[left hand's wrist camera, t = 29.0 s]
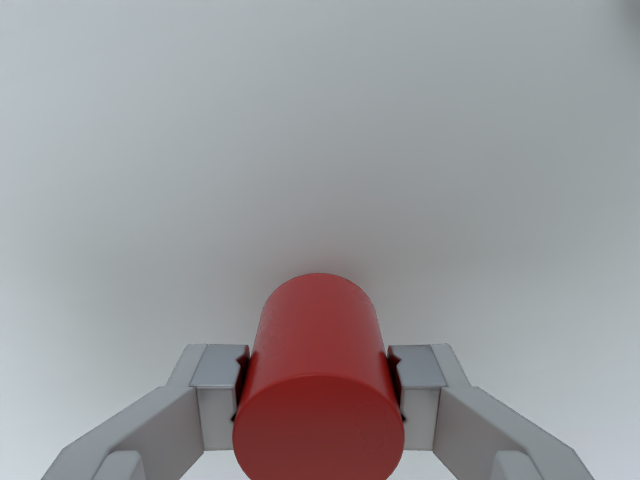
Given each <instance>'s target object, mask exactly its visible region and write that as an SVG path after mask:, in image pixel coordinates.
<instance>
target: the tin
mask: <svg viewBox="0 0 640 480" xmlns="http://www.w3.org/2000/svg"><path fill="white" fill-rule="evenodd" d="M404 443H405V430H404V426H403V421H402V417H401V413H400V409H399V405H398V401H397V397H396V393H395V389H394V385H393V381H392V377H391V373H390V369H389V365H388V360H387V356H386V352H385V348H384V344H383V340H382V336H381V332H380V328H379V324H378V320H377V316H376V312H375V309H374V306H373V304H372V302H371V301H370V299H369V297H368V296H367V295H366V294H365V292H363V291H362V290H361V289H360V288H359V287H358V286H357V285H355V284H354V283H352V282H350V281H349V280H347V279H344V278H342V277H339V276H335V275H331V274H324V273H315V274H307V275H302V276H299V277H296V278H293V279H291V280H289V281H287V282H285V283H284V284H282V285H281V286H280V287H278V288H277V289H276V290H275V291H274V292H273V293H272V294H271V296H270V297H269V298H268V300H267V302H266V303H265V306H264V308H263V311H262V314H261V318H260V322H259V326H258V330H257V334H256V338H255V342H254V346H253V350H252V354H251V358H250V362H249V366H248V370H247V374H246V378H245V381H244V385H243V389H242V393H241V397H240V401H239V405H238V409H237V413H236V417H235V421H234V425H233V431H232V445H233V449H234V453H235V456H236V459H237V461H238V463H239V465H240V467H241V468H242V470H243V471H244V472H245V474H246V475H247V476H248V477H249V478H250V479H251V480H386V479H387V478H388V477H389V476H390V475H391V474H392V472H393V471H394V470H395V468H396V467H397V465H398V463H399V461H400V459H401V456H402V453H403V449H404Z"/></svg>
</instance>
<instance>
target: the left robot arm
mask: <svg viewBox="0 0 640 480" xmlns="http://www.w3.org/2000/svg"><path fill="white" fill-rule="evenodd" d="M387 360H388V365H389V369H390V373H391V377H392V381H393V385H394V389H395V393H396V397H397V401H398V405H399V409H400V413H401V417H402V421H403V426H404V430H405V443H404V449H403V450H425V451H433V453H434V454H435V455H436V456H437V457H438V459H439V460H440V461H441V462H442V463H443V464H444V465H445V466H446V467H447V468H448V469H449V471H450V472H451V473H452V474H453V475H454V476H455V477H456V478H457V479H458V480H594V478H593V477H592V475H591V474H590V472H589V471H588V469H587V468H586V467H585V465H584V464H583V462H582V461H581V459H580V458H579V456H578V455H577V454H576V452H575V451H574V449H572V448H571V447H569V446H568V445H566V444H565V443H563V442H561V441H560V440H558V439H557V438H555V437H554V436H552V435H551V434H549V433H548V432H546V431H545V430H543V429H542V428H540V427H538V426H537V425H535V424H534V423H532V422H531V421H529V420H528V419H526V418H525V417H523V416H522V415H520V414H519V413H517V412H516V411H514V410H512V409H511V408H509V407H508V406H506V405H505V404H503V403H502V402H500V401H499V400H497V399H496V398H494V397H493V396H491V395H489V394H488V393H486V392H485V391H483V390H482V389H480V388H479V387H472V386H471V384H470V382H469V381H468V379H467V377H466V375H465V373H464V371H463V369H462V367H461V365H460V363H459V361H458V359H457V357H456V355H455V353H454V351H453V349H452V347H451V346H450V345H449V344H428V345H389V347H388V353H387ZM249 362H250V352H249V347H248V345H225V344H209V345H208V344H189V345H187V346H186V347H185V349H184V351H183V353H182V355H181V357H180V359H179V360H178V362H177V364H176V366H175V368H174V370H173V372H172V374H171V376H170V378H169V380H168V382H167V384H166V385H165V387H158V388H156V389H155V390H153V391H152V392H150V393H148V394H147V395H145V396H144V397H142V398H141V399H139V400H138V401H136V402H135V403H133V404H131V405H130V406H128V407H127V408H125V409H124V410H122V411H121V412H119V413H117V414H116V415H114V416H113V417H111V418H110V419H108V420H107V421H105V422H104V423H102V424H100V425H99V426H97V427H96V428H94V429H93V430H91V431H90V432H88V433H86V434H85V435H83V436H82V437H80V438H79V439H77V440H76V441H74V442H73V443H71V444H69V445H68V446H66V447H65V448H63V449H62V451H61V452H60V453H59V455H58V456H57V458H56V459H55V460H54V462H53V463H52V465H51V466H50V468H49V469H48V470H47V472H46V473H45V475H44V476H43V477H42V479H41V480H179V479H180V478H181V477H182V476H183V475H184V474H185V473H186V472H187V470H188V469H189V468H190V467H191V466H192V465H193V464H194V463H195V462H196V461H197V460H198V459H199V457H200V456H201V455H202V454H203V453H204V451H211V450H234V449H233V445H232V431H233V425H234V421H235V417H236V413H237V409H238V405H239V401H240V397H241V393H242V389H243V385H244V381H245V378H246V374H247V370H248V366H249Z"/></svg>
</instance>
